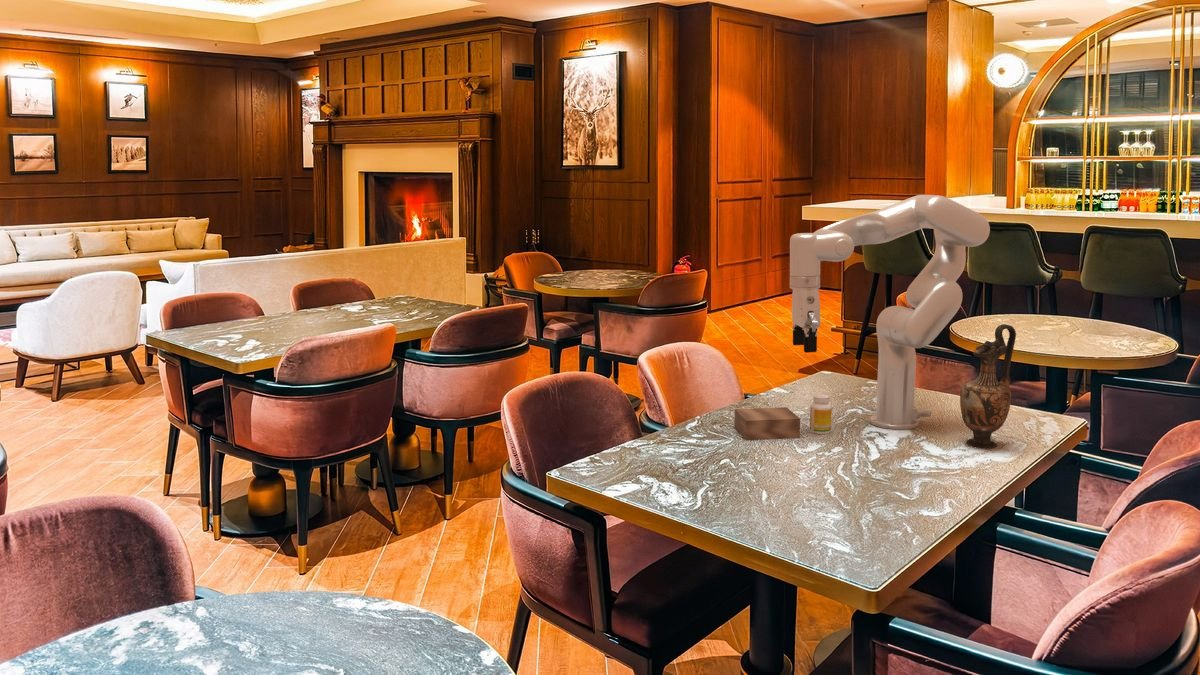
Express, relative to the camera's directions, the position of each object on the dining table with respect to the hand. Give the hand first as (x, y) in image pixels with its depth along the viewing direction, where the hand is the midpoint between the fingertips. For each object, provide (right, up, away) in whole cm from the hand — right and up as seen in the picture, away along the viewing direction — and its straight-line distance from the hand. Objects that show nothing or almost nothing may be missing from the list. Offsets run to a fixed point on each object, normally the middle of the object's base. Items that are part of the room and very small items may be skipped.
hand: (804, 348), depth 244 cm
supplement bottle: (+5, -22, +3) cm, 23 cm away
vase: (+42, -24, -10) cm, 49 cm away
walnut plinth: (-9, -22, +3) cm, 24 cm away
